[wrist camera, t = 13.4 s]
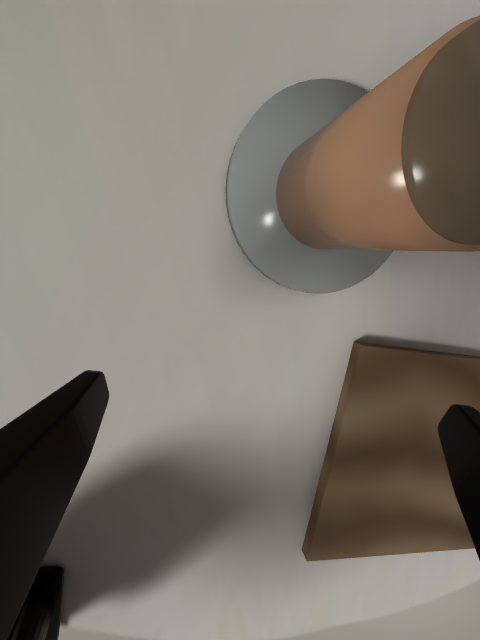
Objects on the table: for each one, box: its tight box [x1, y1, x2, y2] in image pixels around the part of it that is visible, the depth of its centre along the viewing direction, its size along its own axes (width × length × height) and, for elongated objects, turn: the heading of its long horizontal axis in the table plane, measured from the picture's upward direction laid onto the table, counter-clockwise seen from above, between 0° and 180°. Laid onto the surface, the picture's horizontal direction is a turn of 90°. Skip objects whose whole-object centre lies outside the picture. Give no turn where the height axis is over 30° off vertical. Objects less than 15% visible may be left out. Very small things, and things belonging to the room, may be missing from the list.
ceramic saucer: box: [226, 79, 393, 293], centre depth 19 cm, size 12×12×1 cm
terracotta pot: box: [276, 16, 480, 251], centre depth 14 cm, size 6×6×10 cm
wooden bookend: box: [302, 342, 480, 561], centre depth 24 cm, size 18×19×6 cm
